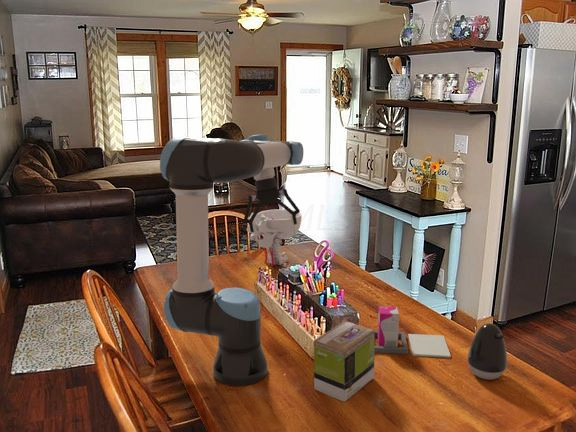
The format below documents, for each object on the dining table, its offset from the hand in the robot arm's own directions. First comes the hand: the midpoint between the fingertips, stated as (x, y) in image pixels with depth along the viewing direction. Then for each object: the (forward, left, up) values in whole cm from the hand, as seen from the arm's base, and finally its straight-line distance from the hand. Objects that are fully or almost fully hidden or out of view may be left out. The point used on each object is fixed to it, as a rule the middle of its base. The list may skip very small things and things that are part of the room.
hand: (275, 237), depth 189 cm
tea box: (-51, -25, -25) cm, 63 cm away
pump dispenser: (-42, -64, -25) cm, 81 cm away
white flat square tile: (-27, -51, -25) cm, 63 cm away
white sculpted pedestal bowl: (+42, +7, -25) cm, 49 cm away
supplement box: (-27, -38, -25) cm, 53 cm away
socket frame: (-27, -38, -25) cm, 53 cm away
